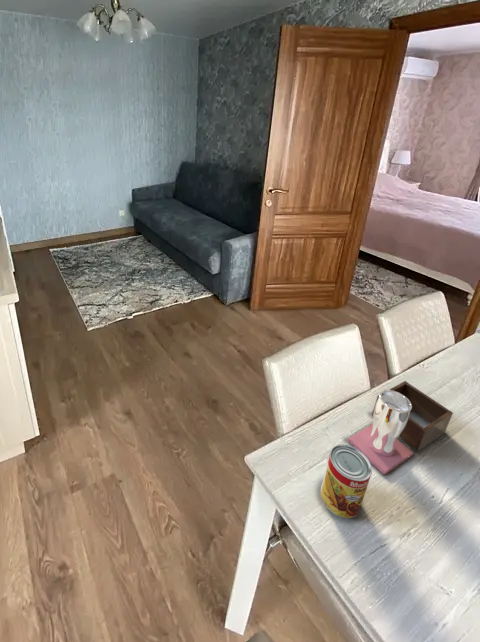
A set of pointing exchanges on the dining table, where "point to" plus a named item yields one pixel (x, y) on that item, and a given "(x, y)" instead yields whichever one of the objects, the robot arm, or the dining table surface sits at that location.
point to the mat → (377, 460)
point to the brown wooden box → (426, 410)
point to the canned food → (345, 480)
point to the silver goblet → (388, 421)
